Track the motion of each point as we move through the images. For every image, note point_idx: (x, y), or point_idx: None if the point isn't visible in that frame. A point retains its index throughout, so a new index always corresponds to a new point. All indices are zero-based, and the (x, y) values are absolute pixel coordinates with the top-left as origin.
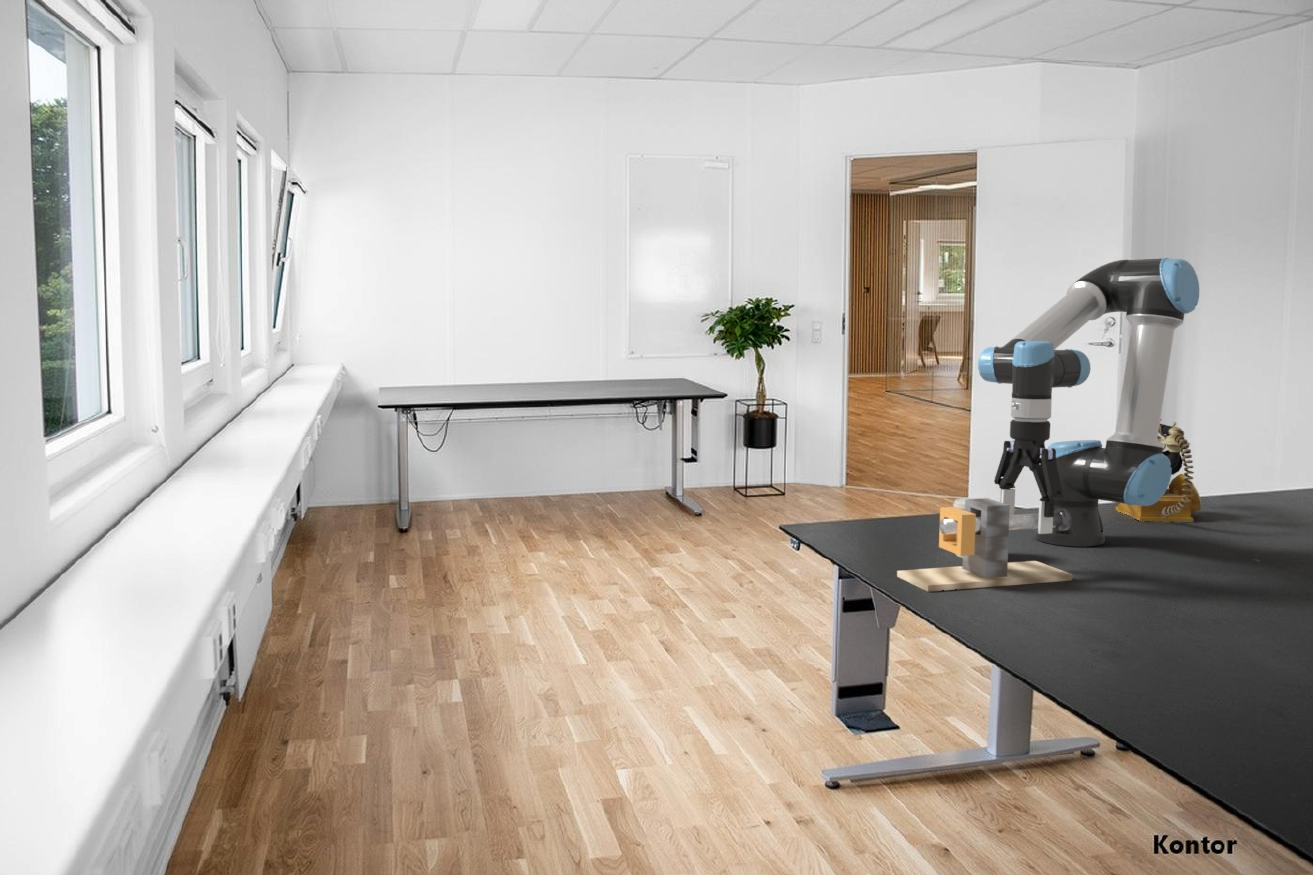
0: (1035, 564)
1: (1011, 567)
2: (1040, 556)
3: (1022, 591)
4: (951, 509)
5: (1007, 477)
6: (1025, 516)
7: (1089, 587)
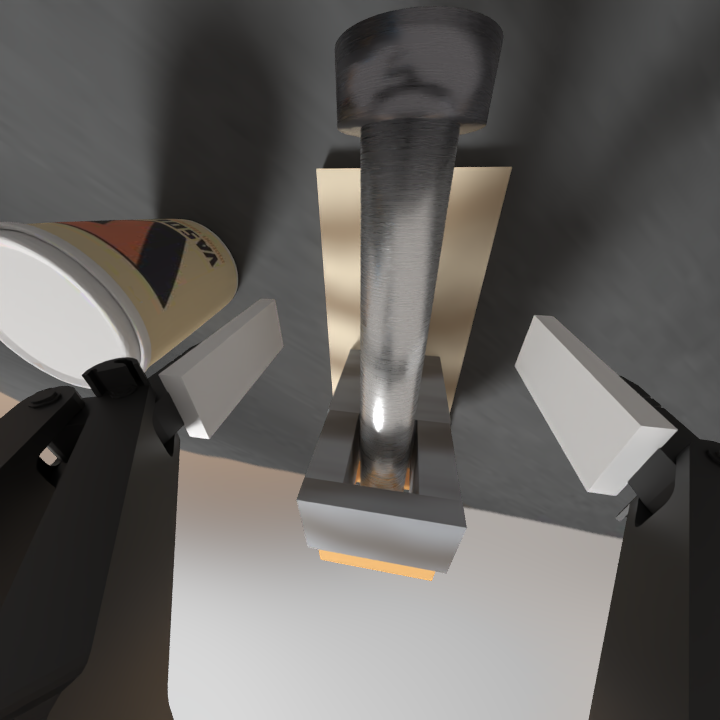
0: (359, 205)
1: None
2: (187, 33)
3: (511, 364)
4: (353, 559)
5: (172, 524)
6: (409, 372)
7: (600, 170)
